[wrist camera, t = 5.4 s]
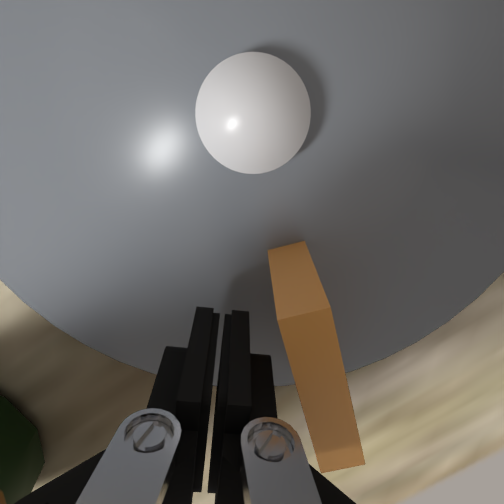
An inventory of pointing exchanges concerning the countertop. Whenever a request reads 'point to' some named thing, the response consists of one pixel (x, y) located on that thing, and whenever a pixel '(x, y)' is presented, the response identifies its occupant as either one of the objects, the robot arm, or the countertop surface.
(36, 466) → the bottle
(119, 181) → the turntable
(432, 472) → the countertop surface
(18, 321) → the countertop surface
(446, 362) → the countertop surface
